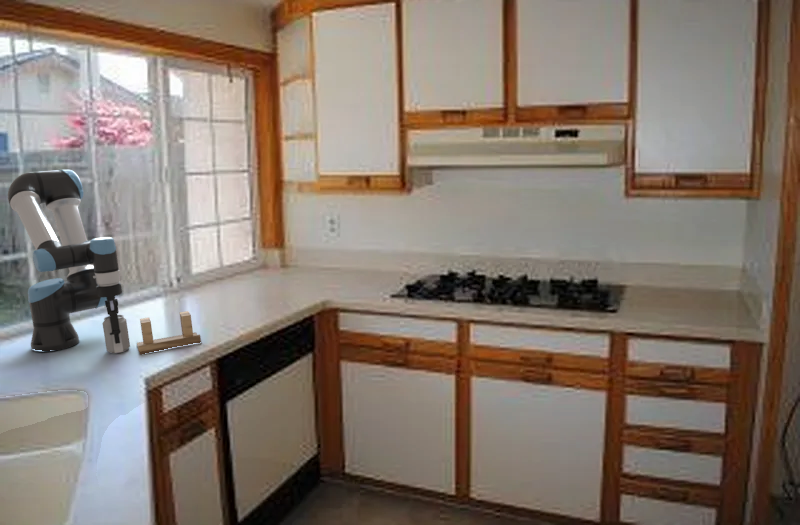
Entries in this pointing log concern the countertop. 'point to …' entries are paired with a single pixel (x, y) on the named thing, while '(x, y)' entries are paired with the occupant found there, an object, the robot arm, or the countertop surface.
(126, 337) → the can
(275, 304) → the countertop surface
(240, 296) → the countertop surface
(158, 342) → the wooden u-shaped stand
